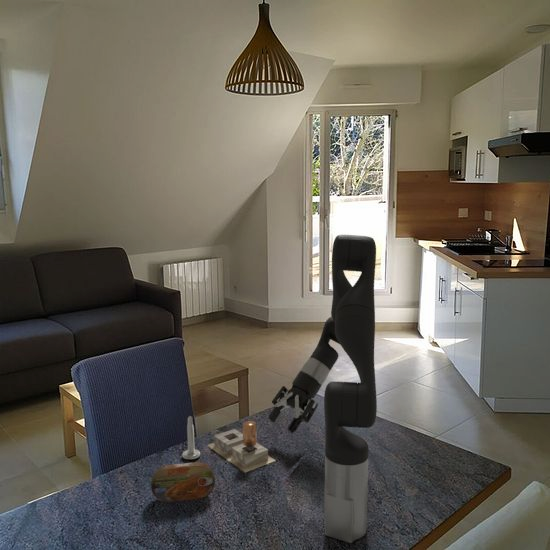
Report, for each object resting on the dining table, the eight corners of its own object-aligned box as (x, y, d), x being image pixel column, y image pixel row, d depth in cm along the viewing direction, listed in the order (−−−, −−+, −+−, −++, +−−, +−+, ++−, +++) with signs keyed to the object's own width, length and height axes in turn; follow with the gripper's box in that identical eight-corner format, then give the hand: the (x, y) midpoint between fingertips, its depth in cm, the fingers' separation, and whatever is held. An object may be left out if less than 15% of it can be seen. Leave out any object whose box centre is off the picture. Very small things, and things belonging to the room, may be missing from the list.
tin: (151, 503, 132) (150, 471, 131) (152, 496, 135) (150, 464, 134) (215, 497, 135) (214, 465, 133) (214, 490, 138) (214, 458, 136)
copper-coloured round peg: (252, 463, 148) (252, 428, 146) (241, 460, 150) (240, 425, 148) (259, 457, 151) (258, 422, 150) (247, 454, 153) (247, 420, 151)
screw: (198, 455, 155) (202, 463, 151) (180, 458, 153) (184, 466, 149) (196, 411, 153) (200, 417, 149) (179, 413, 151) (182, 420, 147)
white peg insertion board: (275, 464, 150) (275, 450, 149) (245, 476, 144) (244, 461, 143) (236, 439, 165) (236, 425, 164) (207, 449, 159) (206, 435, 158)
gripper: (288, 364, 164) (257, 411, 159) (321, 377, 153) (288, 428, 148) (302, 377, 168) (272, 423, 163) (335, 391, 157) (304, 441, 152)
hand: (280, 426), depth 156 cm, fingers open, 8 cm apart
